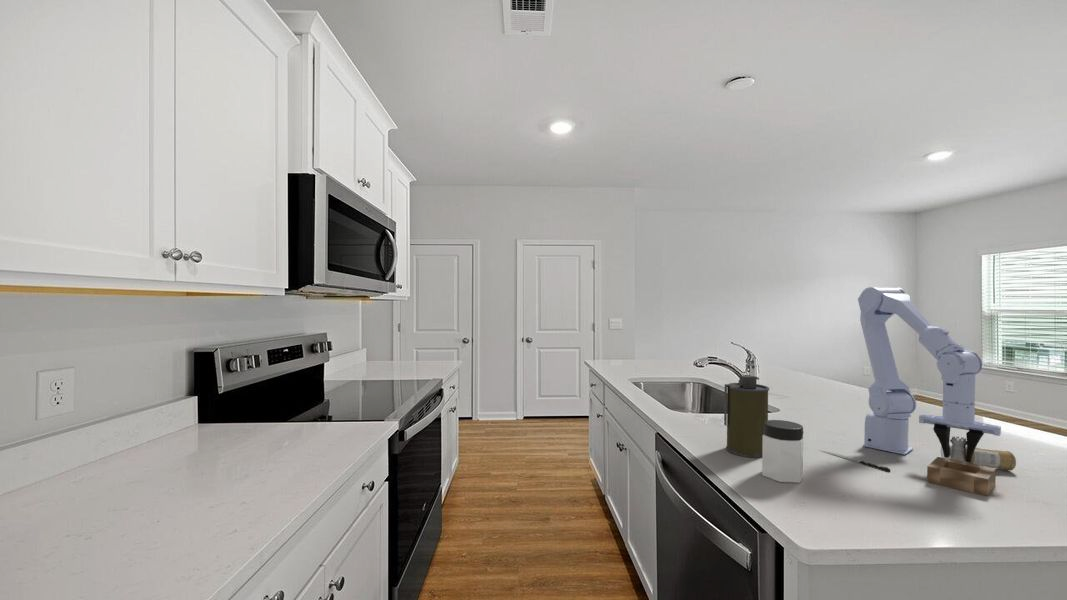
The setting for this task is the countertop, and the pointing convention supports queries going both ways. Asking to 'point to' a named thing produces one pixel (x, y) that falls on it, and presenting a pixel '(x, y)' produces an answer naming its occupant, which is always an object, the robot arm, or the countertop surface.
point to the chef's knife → (858, 461)
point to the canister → (745, 416)
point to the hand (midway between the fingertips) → (957, 459)
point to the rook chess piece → (958, 449)
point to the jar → (782, 451)
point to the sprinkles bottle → (990, 458)
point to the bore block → (962, 475)
